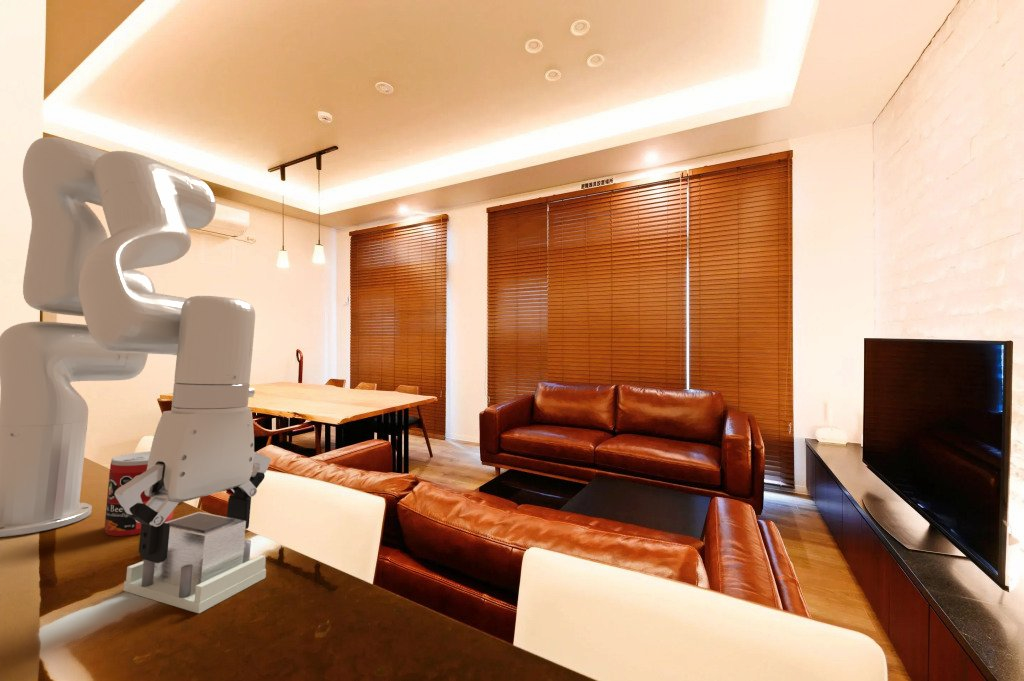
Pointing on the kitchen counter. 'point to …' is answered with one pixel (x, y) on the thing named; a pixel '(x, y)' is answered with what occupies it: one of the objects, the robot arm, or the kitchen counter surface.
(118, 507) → the canned food
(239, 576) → the tray
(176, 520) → the box
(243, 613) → the kitchen counter surface
